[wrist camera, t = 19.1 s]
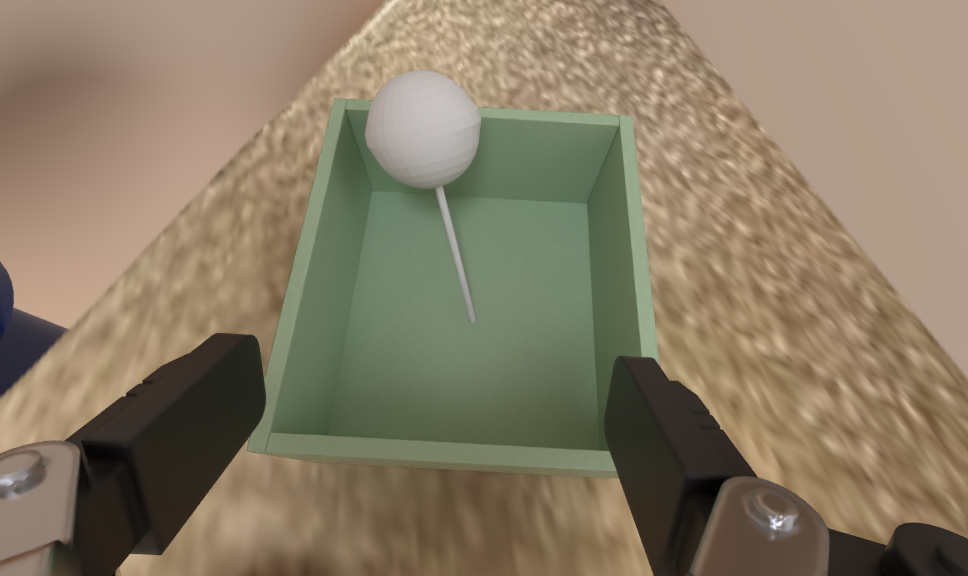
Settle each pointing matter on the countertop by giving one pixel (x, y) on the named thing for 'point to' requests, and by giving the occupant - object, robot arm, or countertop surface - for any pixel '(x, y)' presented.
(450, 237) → the lollipop
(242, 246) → the countertop surface
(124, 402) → the robot arm
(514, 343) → the bin
